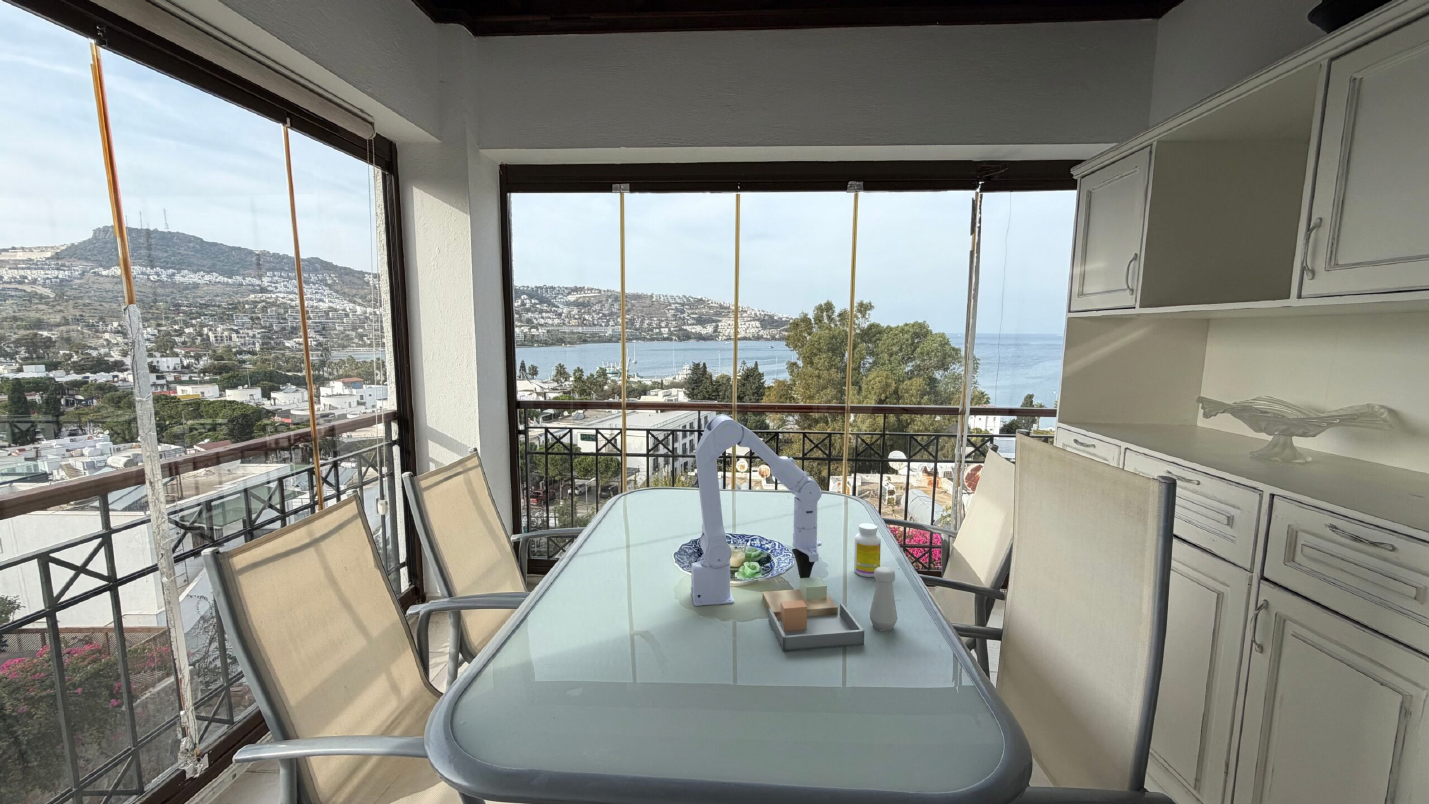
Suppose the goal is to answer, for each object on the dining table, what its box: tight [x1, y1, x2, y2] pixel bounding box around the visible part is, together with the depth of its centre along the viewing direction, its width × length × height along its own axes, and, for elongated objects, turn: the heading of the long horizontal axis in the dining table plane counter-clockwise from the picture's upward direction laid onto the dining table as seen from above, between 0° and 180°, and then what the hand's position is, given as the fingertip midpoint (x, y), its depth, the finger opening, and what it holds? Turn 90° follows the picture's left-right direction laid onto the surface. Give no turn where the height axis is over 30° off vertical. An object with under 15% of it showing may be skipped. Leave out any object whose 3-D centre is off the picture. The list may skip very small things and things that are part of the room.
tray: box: [768, 602, 865, 653], centre depth 118 cm, size 17×12×3 cm
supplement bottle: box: [853, 523, 882, 578], centre depth 147 cm, size 7×7×13 cm
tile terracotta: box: [780, 600, 807, 631], centre depth 119 cm, size 5×5×3 cm
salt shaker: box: [869, 566, 898, 632], centre depth 120 cm, size 6×6×13 cm
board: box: [762, 588, 839, 619], centre depth 129 cm, size 15×10×2 cm, turn 98°
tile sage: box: [799, 576, 828, 600], centre depth 131 cm, size 5×5×3 cm
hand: (804, 578), depth 138 cm, fingers closed
